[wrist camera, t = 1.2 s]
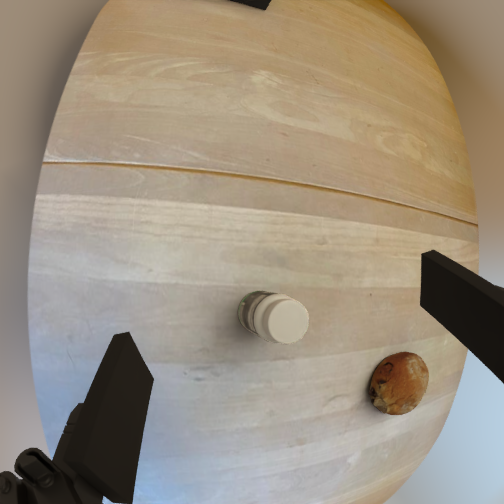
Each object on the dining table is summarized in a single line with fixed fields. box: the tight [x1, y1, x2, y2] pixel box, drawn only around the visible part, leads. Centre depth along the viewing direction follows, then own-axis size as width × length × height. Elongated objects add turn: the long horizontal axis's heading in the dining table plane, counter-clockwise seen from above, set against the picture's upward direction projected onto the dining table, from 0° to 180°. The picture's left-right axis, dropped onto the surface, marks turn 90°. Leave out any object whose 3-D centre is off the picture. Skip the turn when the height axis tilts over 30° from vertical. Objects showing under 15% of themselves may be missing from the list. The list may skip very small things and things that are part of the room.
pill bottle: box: [238, 291, 309, 344], centre depth 30 cm, size 5×5×8 cm
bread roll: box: [369, 352, 429, 415], centre depth 37 cm, size 10×10×8 cm
